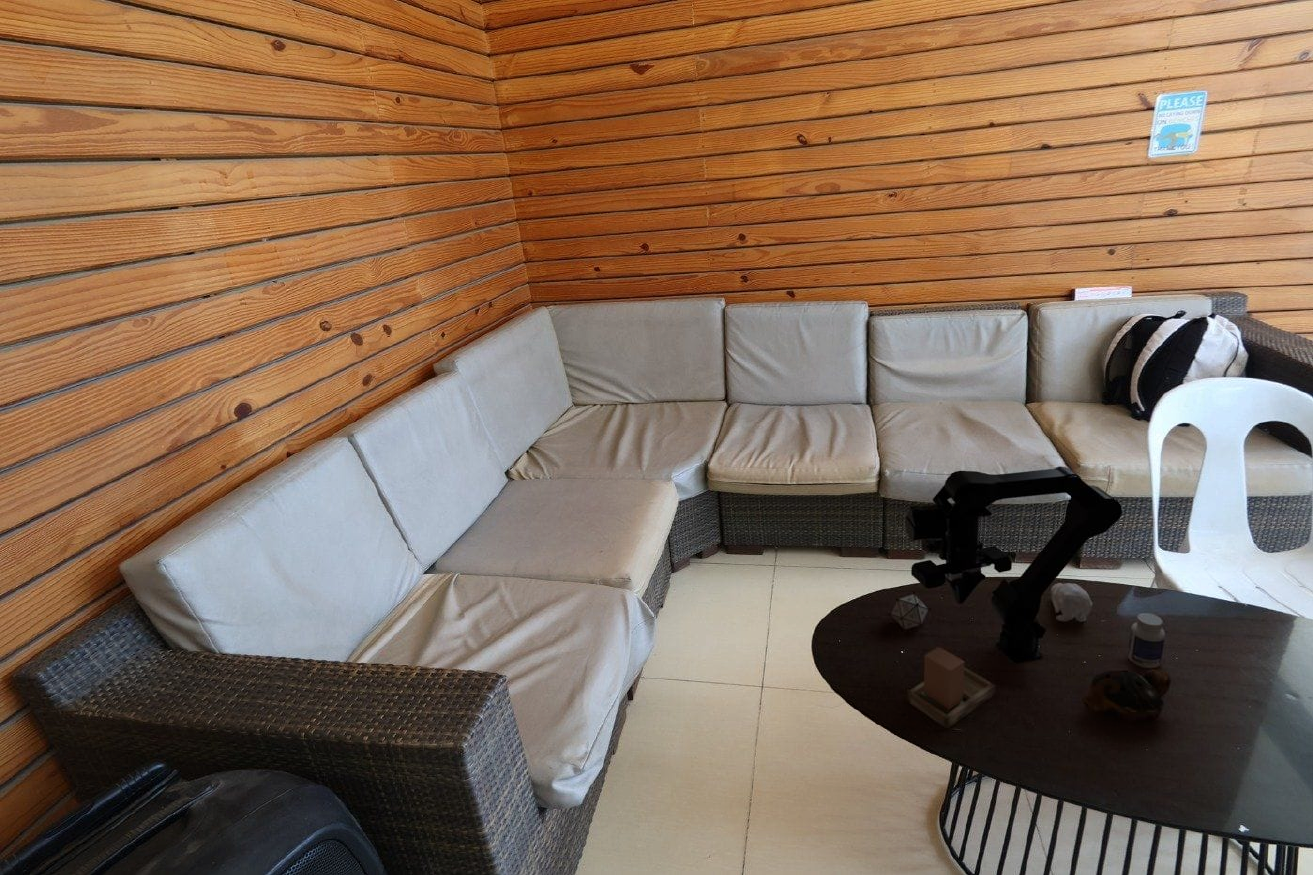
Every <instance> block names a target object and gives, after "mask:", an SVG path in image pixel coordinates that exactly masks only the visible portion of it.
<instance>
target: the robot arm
mask: <svg viewBox="0 0 1313 875" xmlns="http://www.w3.org/2000/svg"><path fill="white" fill-rule="evenodd" d="M1057 494H1067V495H1068V496H1069V497H1070V500H1069V502H1068V503H1067V505H1066V508H1065V514H1064V521H1063V523H1062V524H1061V526H1060V527H1059V528H1058V530H1057V531H1056V532H1055V533H1054V534H1053V536H1052V537H1051V538H1050V539H1049V540H1048V542H1047V543H1046V544H1045V546H1044V547H1043V548H1042V549H1041V550H1040V552H1039V553H1038V554H1037V555H1036V557H1035V558H1034V559H1033V561H1032V562H1031V563H1030V564H1029V565H1028V567H1027V568H1026V569H1025V571H1023V573H1022V574H1021V576H1020V577H1018V578H1017V579H1013V580H1012V581H1009V580H1008V579H1005V578H1004V579H1002V580H1001V581H1000V583H999V585H998V586H997V587H996V588H995V589H994V590H993V591H991V594H992V596H991V599H990V603H991V607H992V609H993V610H994V611H995V612H996V615H998V617H999V618H1000V619H1001V621H1002V622H1003V624H1002V625H1001V632H1000V633H999V641H997V642H996V643H995V647H996V648H998V649H999V650H1000V651H1001V652H1002V653H1003V654H1004V655H1005V656H1006V657H1007V658H1008V659H1009V660H1011V661H1012V662H1013V663H1014V664H1020V663H1025V662H1028V661H1032V660H1036V659H1040V658H1043V657H1044V654H1043V653H1042V652H1041V651H1040V650H1038V649H1039V648H1038V647H1039V639H1042V638H1043V637H1044V636H1045V634H1046V632H1047V629H1046V628H1045V627H1044V626H1043V624H1042V623H1041V622H1040V620H1039V619H1038V618H1037V616H1038V614H1039V612H1040V609H1041V602H1042V596H1043V595H1044V593H1045V592H1046V591H1047V589H1048V588H1049V587H1050V585H1052V583H1054V581H1055V580H1056V579H1057V578H1058V576H1059V575H1060V574H1061V573H1062V571H1063V570H1064V569H1065V568H1066V567H1067V566H1068V564H1069V563H1070V562H1071V560H1072V559H1073V558H1074V557H1075V555H1077V554H1078V552H1079V551H1080V549H1081V548H1082V547H1083V546H1084V545H1085V544H1086V542H1088V540H1089V539H1091V538H1093V537H1096V536H1098V535H1101V534H1104V533H1106V532H1107V531H1108V530H1109V529H1110V528H1112V527H1113V526H1114V525H1115V524H1116V523H1117V522H1118V521H1119V520H1120V519H1121V517H1122V515H1123V510H1122V509H1123V508H1122V505H1121V503H1120V502H1119V501H1118V500H1116V499H1115V498H1114V497H1112V496H1111V495H1110V494H1108V493H1107V492H1106V491H1104V490H1103V489H1102V488H1100V487H1099V486H1096V485H1089V484H1088V483H1086V481H1084V480H1083V479H1082V478H1081V476H1080V475H1079V474H1077V473H1076V472H1075V471H1073V470H1072V469H1070V468H1069V467H1067V466H1057V467H1055V468H1048V469H1039V470H1037V469H1036V470H1027V471H1019V472H1018V471H1017V472H1009V473H998V474H992V473H991V474H990V473H985V472H981V471H975V470H973V471H972V470H956V471H953V472H951V473H950V475H949V476H947V478H946V480H945V482H944V485H943V486H942V487H941V489H940V490H939V491H938V492H937V493H936V494H935V495H934V497H933V498H932V502H933V503H934V504H929V505H910V506H909V511H907V512H906V516H905V518H904V519H905V520H904V522H905V529H906V534H907V537H908V539H909V540H910V541H921V542H920V543H921V548H922V550H923V551H925V552H927V553H928V552H930V553H931V554H938V558H939V559H941V560H942V561H945V563H940V564H936V563H935V562H933V560H931V559H928V560H922V561H919V562H915V563H913V564H912V565H911V570H910V573H911V576H912V577H914V579H915V580H916V581H917V582H918V583H919V584H921V585H922V586H923V587H924V588H926V589H935V588H938V587H942V586H943V585H944V584H945V583H946V582H947V583H948V584H949V586H950V588H951V591H952V593H953V597H954V599H955V601H956V603H958V605H962V604H964V603H965V602H966V600H967V599H968V597H969V596H970V595H971V593H972V592H973V591H974V590H975V589H976V587H977V586H978V585H979V584H980V582H982V581H983V580H986V577H987V576H986V575H985V574H984V573H982V568H986V567H990V566H992V565H993V569H994V570H995V571H996V572H997V573H999V574H1001V573H1005V572H1006V573H1007V572H1010V571H1012V566H1013V560H1012V558H1011V557H1010V556H1009V555H1008V554H1007V553H1005V552H1004V551H1003V550H1001V549H999V548H998V547H997V546H995V545H992V546H988V547H984V543H982V542H981V541H979V538H980V520H981V519H980V518H982V517H991V516H992V515H993V513H992V512H991V511H990V509H989V508H988V507H989V506H990V505H992V504H994V503H995V502H997V501H1002V500H1005V499H1015V498H1026V497H1035V496H1036V497H1037V496H1044V495H1045V496H1046V495H1057ZM949 499H951V500H952V501H953V503H954V504H953V505H952V504H951V502H950V501H949Z"/></svg>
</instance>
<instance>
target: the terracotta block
mask: <svg viewBox="0 0 1313 875" xmlns="http://www.w3.org/2000/svg"><path fill="white" fill-rule="evenodd" d="M923 662H924V663H923V664H924V665H923V667H924V669H923V681H924V694H925V695H927V696H928V697H930V698H931V699H933V700H934V701H936V702H937V703H939V704H940V705H942V706H944V707H945V708H947V709H948V710H950V709H951V708H953V707H954V706H956V705H957V704H959V703H960V702H961V701H963V686H964V667H965V664H966V663H965V661H964V660H963V659H961V658H959V657H957V656H956V655H954V654H952V653H950V652H948V651H947V650H945V649H944V648H942V647H940V646H937V647H936V648H934V649H932V650H930V651H929V652H927V653H926V654H925V655H924V661H923Z"/></svg>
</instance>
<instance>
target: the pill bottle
mask: <svg viewBox="0 0 1313 875" xmlns="http://www.w3.org/2000/svg"><path fill="white" fill-rule="evenodd" d="M1130 627H1131V628H1130V633H1129V634H1130V637H1129V642H1128V650H1127V658H1128V659H1129V661H1130V662H1132V663H1133V664H1135V665H1137V666H1138V667H1142V668H1144V669H1145V668H1146V669H1155V668H1158V667H1160V665H1161V662H1162V656H1163V652H1164V651H1163V650H1164V645H1165V640H1166V639H1165V638H1166V633H1165V630H1164V629H1163V620H1162V618H1161V617H1159V616H1158V615H1156V614H1153V613H1148V612H1147V613H1146V612H1142V613H1139V614H1138V615H1137V617H1136V622H1134V623H1133V624H1132V625H1131V626H1130Z"/></svg>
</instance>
